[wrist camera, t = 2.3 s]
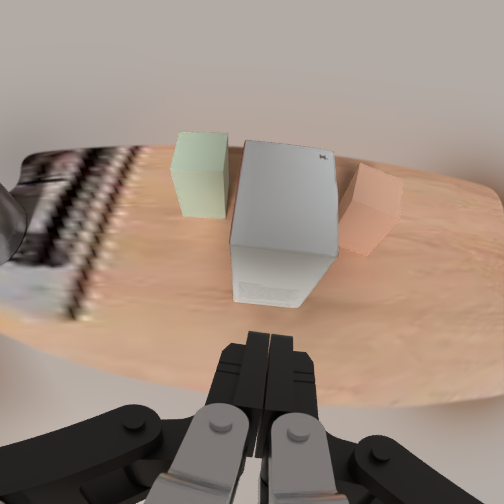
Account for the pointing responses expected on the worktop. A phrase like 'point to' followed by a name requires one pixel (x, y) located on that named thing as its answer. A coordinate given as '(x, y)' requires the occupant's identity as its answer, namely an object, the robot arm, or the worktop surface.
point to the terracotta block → (368, 209)
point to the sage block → (201, 174)
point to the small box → (283, 223)
